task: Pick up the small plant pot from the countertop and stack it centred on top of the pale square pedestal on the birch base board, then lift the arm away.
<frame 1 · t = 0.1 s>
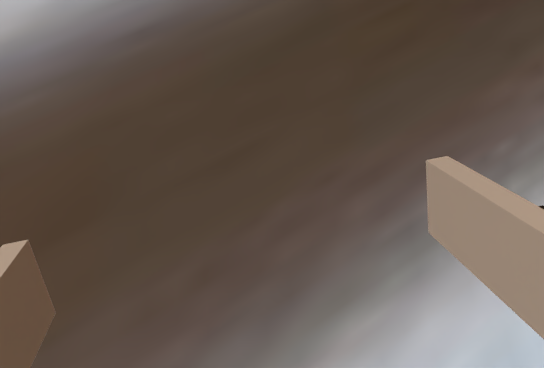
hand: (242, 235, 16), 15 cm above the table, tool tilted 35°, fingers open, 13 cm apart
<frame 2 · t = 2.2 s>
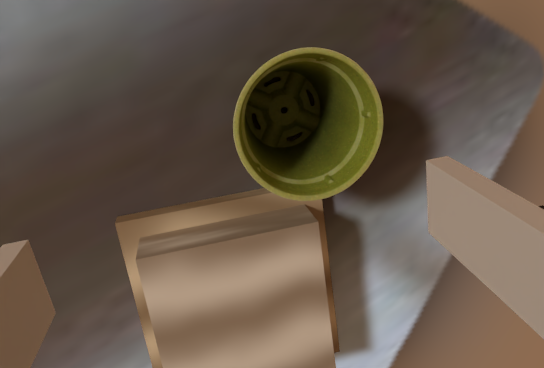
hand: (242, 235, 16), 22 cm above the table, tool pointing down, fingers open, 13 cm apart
pedestal base: (235, 284, 40), on the table
plant pot: (281, 109, 37), on the table
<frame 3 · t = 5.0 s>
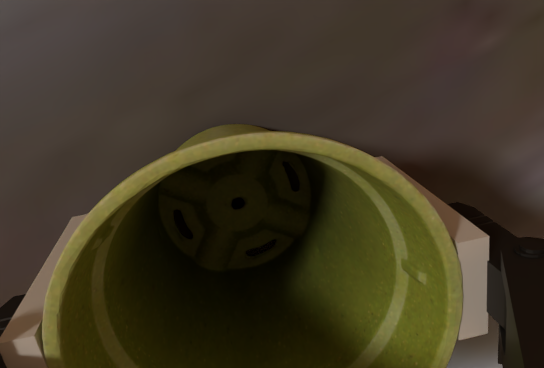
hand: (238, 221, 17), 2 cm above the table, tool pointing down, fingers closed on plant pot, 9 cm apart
plant pot: (233, 197, 19), on the table, touching gripper
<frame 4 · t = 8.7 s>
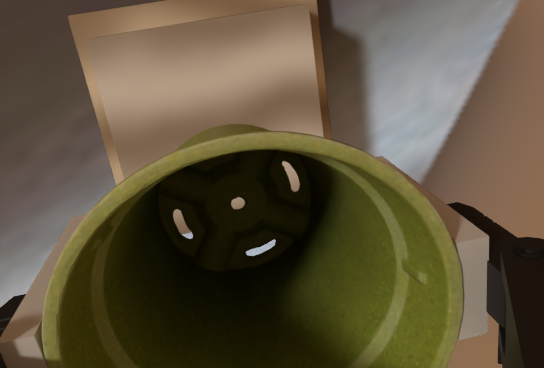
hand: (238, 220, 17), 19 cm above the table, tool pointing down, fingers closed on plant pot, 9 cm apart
pedestal base: (216, 112, 35), on the table
plant pot: (233, 197, 19), point 17 cm above the table, touching gripper
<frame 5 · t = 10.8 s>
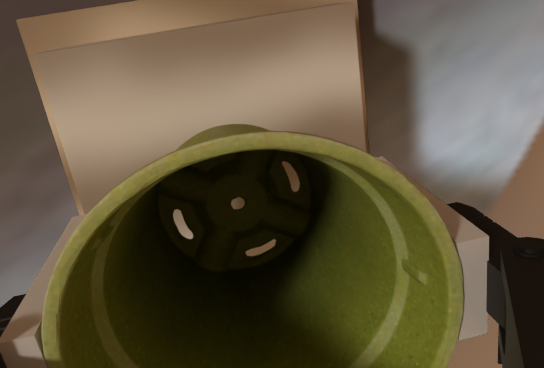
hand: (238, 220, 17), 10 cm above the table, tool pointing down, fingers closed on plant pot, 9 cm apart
pedestal base: (221, 146, 26), on the table
plant pot: (233, 197, 19), point 8 cm above the table, touching gripper
when the fingers open (8 cm above the table, at t = 12.4 s): plant pot stays where it is, resting on pedestal base.
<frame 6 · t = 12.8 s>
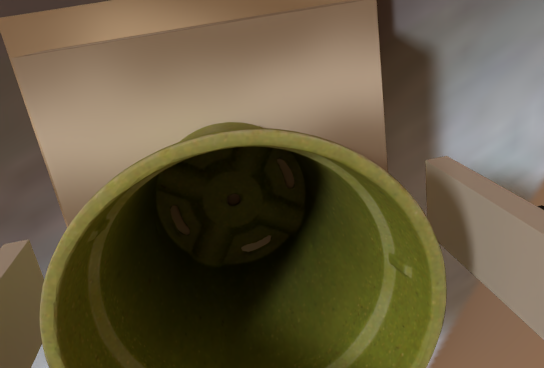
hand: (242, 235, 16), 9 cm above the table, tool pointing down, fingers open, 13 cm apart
pedestal base: (224, 157, 24), on the table
plant pot: (229, 194, 19), point 5 cm above the table, touching pedestal base
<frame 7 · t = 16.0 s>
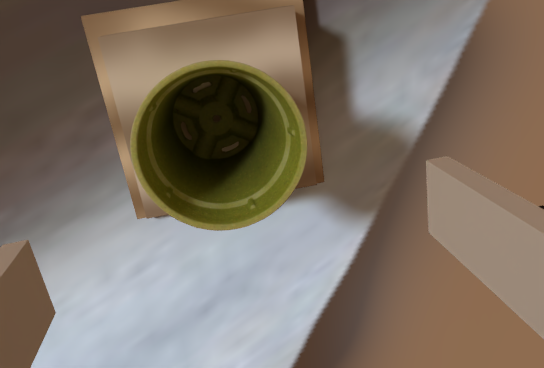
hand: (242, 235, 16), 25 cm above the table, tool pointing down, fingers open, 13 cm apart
pedestal base: (213, 103, 38), on the table
plant pot: (214, 117, 33), point 5 cm above the table, touching pedestal base
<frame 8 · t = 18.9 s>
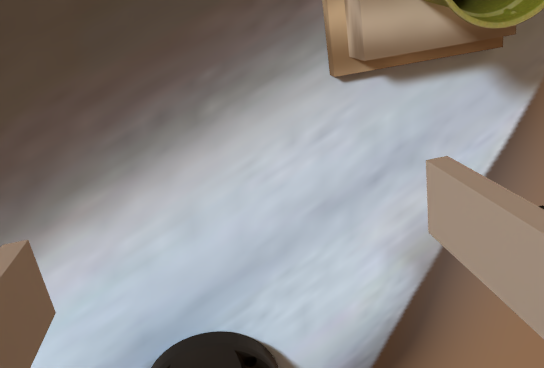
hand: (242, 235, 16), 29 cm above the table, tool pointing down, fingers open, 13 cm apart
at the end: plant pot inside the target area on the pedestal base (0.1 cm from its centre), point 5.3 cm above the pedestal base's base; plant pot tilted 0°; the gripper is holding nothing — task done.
